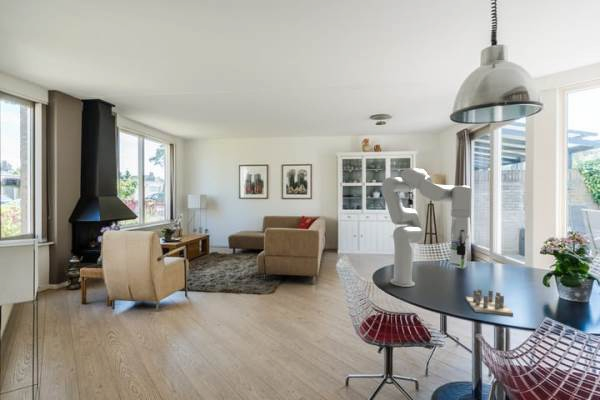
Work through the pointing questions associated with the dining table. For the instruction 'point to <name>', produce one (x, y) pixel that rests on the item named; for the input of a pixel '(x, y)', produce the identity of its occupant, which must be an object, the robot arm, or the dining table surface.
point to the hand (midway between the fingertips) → (458, 252)
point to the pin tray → (488, 303)
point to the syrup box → (456, 259)
